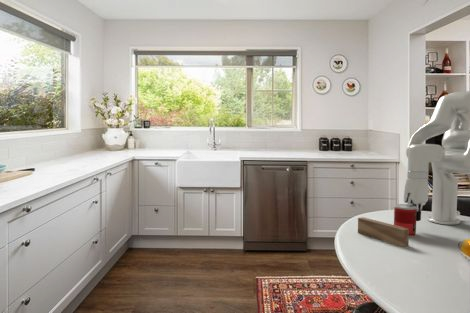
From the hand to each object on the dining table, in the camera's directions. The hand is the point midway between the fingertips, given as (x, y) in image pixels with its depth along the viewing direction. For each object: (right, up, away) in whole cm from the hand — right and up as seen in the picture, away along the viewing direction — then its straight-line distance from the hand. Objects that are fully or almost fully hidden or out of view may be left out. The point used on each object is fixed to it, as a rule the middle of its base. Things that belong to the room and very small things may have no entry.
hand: (415, 220), depth 147 cm
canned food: (-6, -5, -3) cm, 8 cm away
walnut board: (-18, -5, -10) cm, 22 cm away
